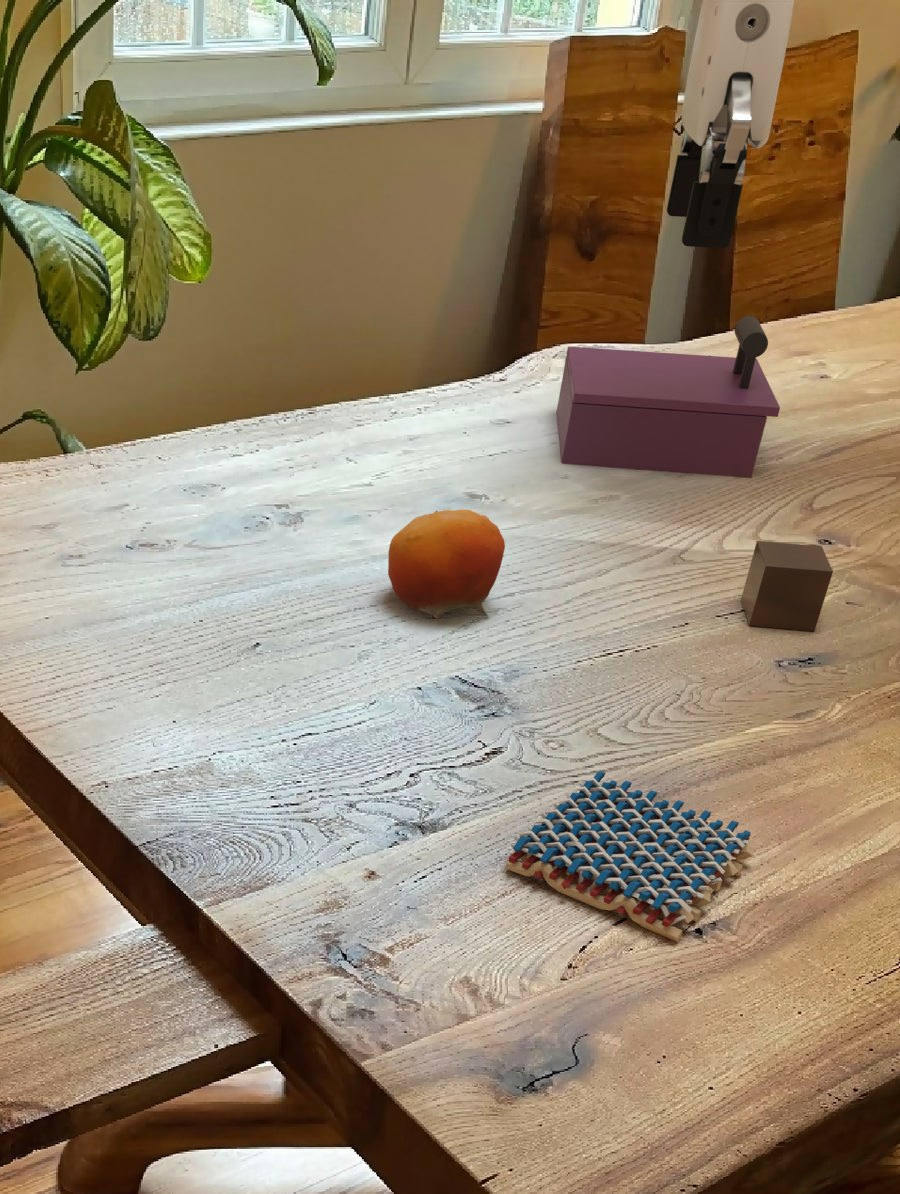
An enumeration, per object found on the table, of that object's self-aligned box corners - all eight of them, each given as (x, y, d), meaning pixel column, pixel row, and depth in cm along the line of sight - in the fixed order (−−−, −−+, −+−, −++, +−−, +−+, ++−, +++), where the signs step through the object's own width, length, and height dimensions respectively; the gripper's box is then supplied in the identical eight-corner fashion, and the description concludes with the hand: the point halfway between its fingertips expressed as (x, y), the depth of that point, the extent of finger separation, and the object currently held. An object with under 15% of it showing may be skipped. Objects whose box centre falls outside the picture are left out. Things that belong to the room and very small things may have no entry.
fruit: (437, 626, 100) (418, 506, 99) (381, 640, 107) (363, 529, 106) (537, 607, 103) (519, 491, 101) (475, 622, 110) (458, 514, 109)
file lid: (754, 368, 130) (771, 304, 127) (777, 417, 119) (796, 349, 116) (566, 355, 132) (577, 292, 129) (572, 402, 121) (584, 335, 118)
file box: (726, 445, 134) (745, 368, 130) (745, 499, 124) (767, 417, 119) (552, 432, 136) (566, 356, 132) (557, 484, 126) (572, 403, 121)
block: (804, 605, 107) (822, 545, 104) (814, 631, 104) (833, 571, 101) (740, 599, 108) (756, 540, 105) (748, 626, 104) (765, 565, 102)
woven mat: (493, 872, 80) (498, 841, 78) (584, 794, 86) (591, 763, 85) (673, 949, 74) (682, 917, 73) (756, 860, 81) (766, 828, 80)
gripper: (842, -44, 89) (768, 262, 100) (792, -63, 102) (732, 208, 113) (715, -47, 90) (655, 256, 100) (682, -66, 103) (632, 203, 114)
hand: (695, 230), depth 107 cm, fingers open, 9 cm apart
